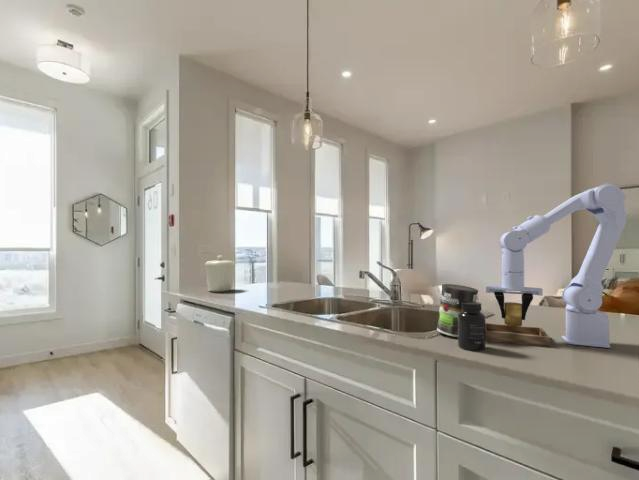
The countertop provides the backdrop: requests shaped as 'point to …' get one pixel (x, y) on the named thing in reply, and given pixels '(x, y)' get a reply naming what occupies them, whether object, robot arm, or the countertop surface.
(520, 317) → the tan wooden cylinder
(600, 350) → the countertop surface
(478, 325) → the supplement bottle
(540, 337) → the tray
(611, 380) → the countertop surface
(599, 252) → the robot arm
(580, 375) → the countertop surface
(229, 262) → the canister
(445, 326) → the coffee can
